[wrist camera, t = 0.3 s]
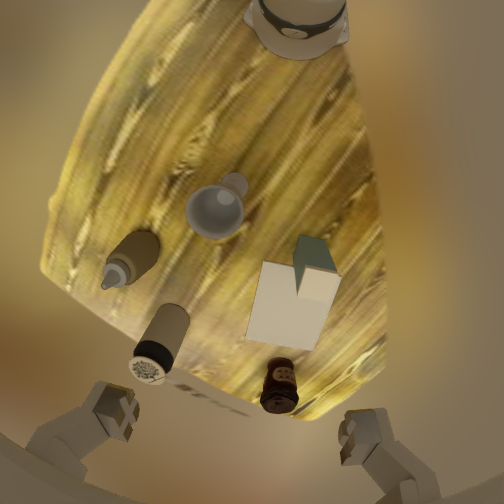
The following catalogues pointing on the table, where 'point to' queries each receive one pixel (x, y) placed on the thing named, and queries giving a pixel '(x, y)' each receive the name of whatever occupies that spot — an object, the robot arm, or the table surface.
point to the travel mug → (159, 345)
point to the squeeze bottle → (130, 259)
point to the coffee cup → (279, 387)
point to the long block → (314, 269)
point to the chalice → (218, 207)
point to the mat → (285, 310)
